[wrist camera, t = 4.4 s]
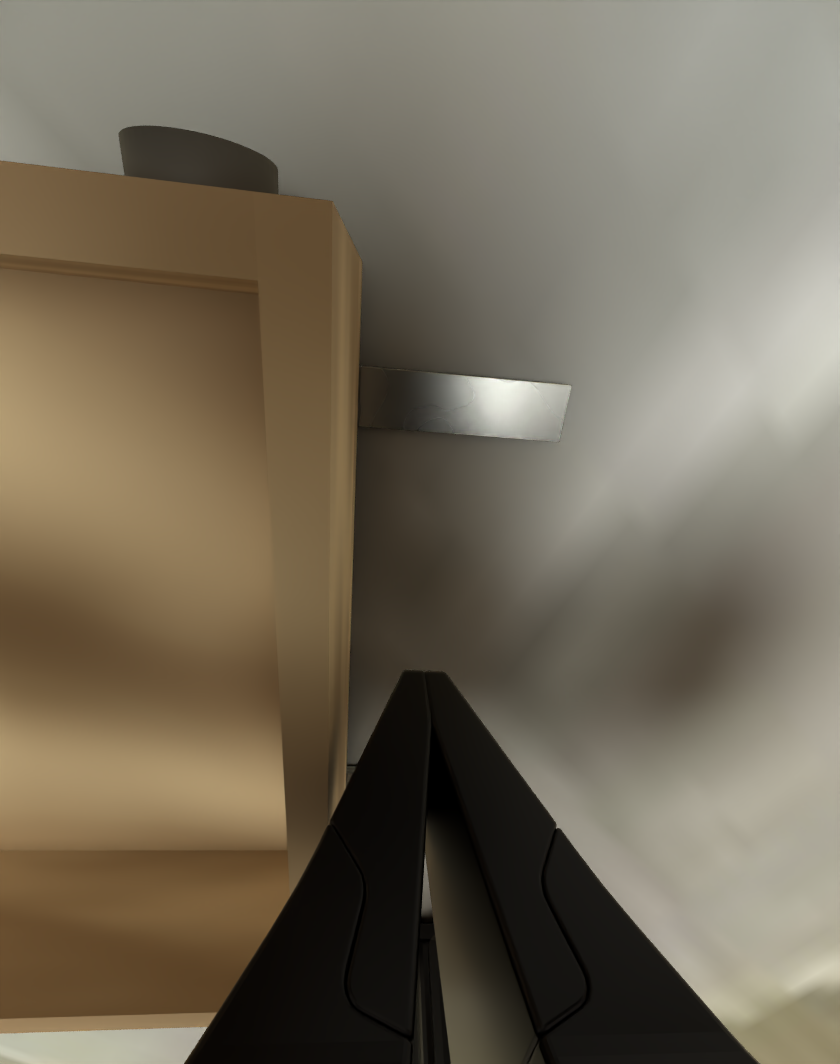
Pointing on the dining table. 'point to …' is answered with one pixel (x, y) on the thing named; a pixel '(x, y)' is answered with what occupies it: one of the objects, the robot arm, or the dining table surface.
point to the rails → (460, 407)
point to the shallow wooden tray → (167, 572)
